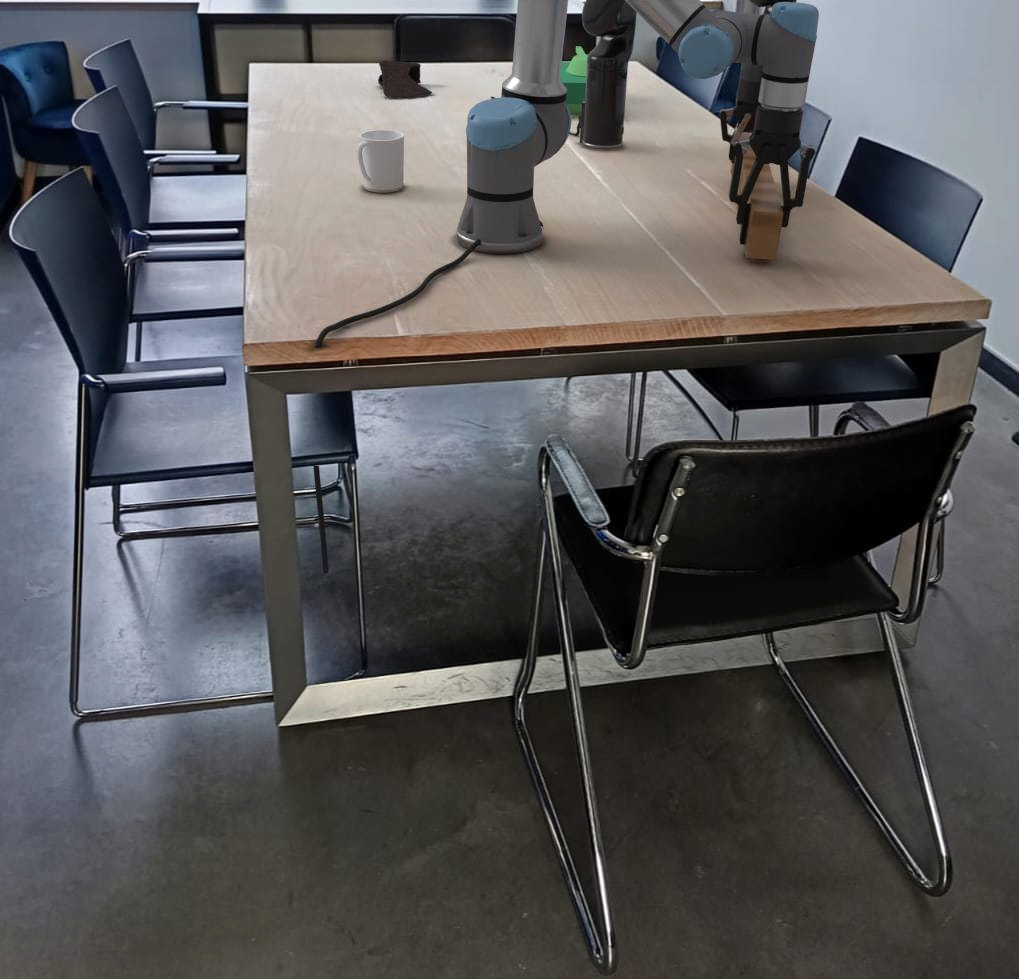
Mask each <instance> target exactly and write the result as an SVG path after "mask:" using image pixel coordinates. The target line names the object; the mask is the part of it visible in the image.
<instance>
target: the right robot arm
mask: <svg viewBox="0 0 1019 979" xmlns="http://www.w3.org/2000/svg"><path fill="white" fill-rule="evenodd" d="M748 1H749V2H750V4H752V5H753V6H755V7H757V8H764V10H763V11H762V14H761V15H767V14H768V15H770V12H771V11H772V7H773V5H774V4H776V3H779V2H798V1H797V0H748ZM637 14H638V13H637V12H636V11H635V10H634V9H633V8H632V7H631V6H630V5H629V4H628V3H627V2H626V1H625V0H585V2H584V5H583V7H582V12H581V21H582V26H583V28H584V30H585V31H586V33H587V34H589V35H591V36H593V37H600V38H599V41H598V43H597V45H596V46H595V47H594V48H593V49H592V50H591V51H590V52H588V54H587V55H588V57H587V73H586V92H585V100H583V101H582V107H581V115H578V123H577V125H576V132H575V133H574V132H570V133H569V135H571V136H574V137H577V136H579V144H582V146H583V147H585V148H588V149H592V150H598V151H599V150H600V151H610V150H611V151H612V150H618V149H620V148H622V147H623V144H624V140H623V139H624V138H623V137H624V134H625V114H626V113H625V112H626V102H627V101H626V99H627V85H628V72H629V61H630V59H631V57H632V55H633V51H634V45H635V44H634V43H635V36H636V28H637V27H636V26H637V16H638V15H637ZM762 72H763V65H753V64H744V63H741V65H740V71H739V80H738V86H737V87H738V88H737V94H736V102H735V104H734V106H733V107H732V108H727V109H725V108H721V109H720V110H719V119H720V131H721V138H722V141H723V142H727V143H729V147H728V148H729V149H728V154H727V156H728V159H729V161H730V164H732V163H734V160H735V150H734V145H733V143H734V142H735V141H736V140H738V139H739V137H740V136H741V134H742V133H743V132H745V131H749V130H752V131H753V130H754V125H755V118H756V111H757V107H758V106H759V105H760V103H759V101H758V99H759V92H760V86H761V80H762ZM494 98H496V97H495V96H493V95H492V96H491V97H490V100H492V99H494ZM732 116H734V118H735V119H736V122H737V124H736V126H735V127H734V130H733V132H732V134H729V132H728V131H729V129H728V128H729V127H728V122H729V121H730V120H731V117H732Z"/></svg>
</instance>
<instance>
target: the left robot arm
mask: <svg viewBox="0 0 1019 979" xmlns="http://www.w3.org/2000/svg"><path fill="white" fill-rule="evenodd" d="M625 1H626V2H627V3H628V4H629V5H630V6H631V7H632V8H633V9H634V10H635V11H636V12H637V14H638V15H639V16H640V18H642V19H643V20H644V21H645V22H646V23H647V24H648V25H649V26H650V27H651V28H652V29H653V30H654V31H655V32H656V33H657V34H658V35H659V36H660V37H661V38H662V40H664V41H665V42H666V43H667V44H668V45H669V46H670V47H671V48H672V49H673V50H674V51H675V52H676V53H677V54H678V60H679V64H680V66H681V68H682V69H683V71H684V72H685V73H686V74H687V75H688V76H690V77H691V78H694V79H697V80H706V79H711V78H714V77H716V76H719V75H721V74H722V73H724V72H725V71H726V70H727V69H728V68H729V67H730V66H732V65H733V64H735V63H736V64H742V63H744V64H753V65H763V72H762V80H761V86H760V92H759V99H758V101H759V103H760V105H759V106H758V107H757V111H756V118H755V125H754V130H753V129H752V132H751V133H752V135H751V136H750V138H749V139H748V140H744V141H738V140H736V141H735V142H734V143H733V145H734V150H735V160H734V166H733V172H732V174H731V179H730V185H729V192H728V198H729V199H728V200H729V202H730V203H734V204H736V205H737V204H738V209H736V210H737V211H736V218H735V221H736V225H740V224H742V226H740V233H739V239H738V240H739V245H741V246H744V245H745V239H746V232H747V226H748V219H749V213H750V205H749V203H747V202H748V200H749V197H750V195H751V193H752V190H753V188H754V186H755V183H756V181H757V179H758V176H759V174H760V172H761V170H762V168H763V166H764V164H769V165H771V164H772V165H776V166H779V173H780V182H781V192H782V203H783V205H781V207H782V210H783V219H782V225H781V228H785V229H786V228H788V226H789V223H790V217H791V212H792V210H793V209H795V208H801V207H803V206H804V201H805V196H806V190H807V189H806V188H807V183H808V176H809V169H810V164H811V162H812V160H813V159H814V156H815V154H816V150H815V148H814V146H813V145H811V144H809V145H807V144H805V143H803V142H802V140H801V137H800V134H801V128H802V121H803V116H804V110H803V109H802V108H803V107H804V106H805V105H806V99H807V92H808V87H809V80H810V76H811V70H812V63H813V59H814V54H815V48H816V43H817V38H818V34H817V33H818V25H819V18H820V12H819V10H818V7H816V6H815V5H813V4H810V3H806V2H798V1H796V2H779V3H776V4H774V5H773V7H772V11H771V12H770V15H768V14H767V15H762V14H757V13H748V12H747V13H746V12H739V11H738V12H737V11H730V10H724V9H722V8H721V9H719V8H718V9H709V8H708V7H706V5H705V4H704V2H702V1H701V0H625ZM568 7H569V0H517V7H516V20H515V31H514V44H513V54H512V55H513V56H512V65H511V66H512V67H511V74H510V75H509V76H508V77H507V78H506V79H505V80H503V82H502V85H501V96H500V97H495V98H494V99H485V100H482V101H480V102H478V103H476V104H474V105H473V106H472V107H471V108H470V110H469V111H468V114H467V120H466V121H467V122H466V128H465V135H466V192H467V193H466V198H465V202H464V205H463V209H462V211H461V214H460V218H459V220H458V224H457V227H456V241H457V243H458V244H459V245H461V246H462V247H464V248H466V250H465V251H464V252H463V253H462V254H461V255H460V256H459V257H457V258H456V259H455V260H453V261H452V262H449V263H447V264H444V265H442V266H440V267H438V268H437V269H434V270H433V271H432V272H431V273H429V275H427V277H425V278H424V280H423V281H422V282H421V284H420V285H419V286H418V287H417V288H415V289H414V290H413V291H411V292H409V293H408V294H406V295H404V296H403V297H401V298H399V299H397V300H395V301H392V302H390V303H388V304H386V305H383V306H381V307H378V308H376V309H373V310H369V311H365V312H362V313H359V314H355V315H352V316H350V317H346V318H344V319H342V320H339V321H338V322H334V323H333V324H330V325H328V326H325V328H323V329H322V330H321V331H320V332H319V334H318V337H317V338H316V341H315V344H314V349H320V348H321V347H322V345H323V342H324V340H325V339H326V337H327V335H328V334H329V333H332V332H334V331H336V330H339V329H341V328H343V327H346V326H348V325H350V324H353V323H356V322H359V321H362V320H365V319H369V318H373V317H375V316H378V315H381V314H383V313H386V312H388V311H390V310H393V309H395V308H397V307H399V306H402V305H404V304H405V303H407V302H409V301H410V300H412V299H414V298H415V297H417V296H418V295H419V294H421V293H422V292H423V291H424V290H425V289H426V288H427V287H428V285H429V284H430V283H431V281H432V280H433V279H435V277H437V276H439V275H440V274H442V273H444V272H446V271H449V270H450V269H452V268H455V267H457V266H458V265H460V264H461V263H462V262H463V261H464V260H466V259H467V258H468V257H469V256H470V254H472V252H473V251H475V252H479V253H486V254H497V255H499V254H500V255H506V254H507V255H508V254H517V253H524V252H527V251H530V250H533V249H536V248H538V247H539V246H540V245H541V244H542V243H543V229H545V228H544V227H545V226H544V223H543V222H542V220H541V219H540V218H539V214H538V213H539V212H538V210H537V206H536V204H535V199H534V184H535V181H534V180H535V167H537V166H538V165H540V164H542V163H543V162H545V161H547V160H550V159H551V158H552V157H554V156H555V155H556V154H558V152H559V151H560V150H561V149H562V148H563V146H564V145H565V144H566V143H567V141H568V138H569V135H570V134H569V133H571V128H572V118H571V116H572V115H570V112H569V109H568V107H567V106H566V96H567V88H566V87H565V86H564V84H563V83H562V82H561V80H560V73H561V63H562V62H563V55H564V54H563V53H564V44H565V35H566V27H567V26H566V25H567V18H568V17H567V16H568ZM750 146H751V148H752V150H753V152H754V153H755V155H756V158H755V161H754V164H753V167H752V169H751V171H750V174H749V176H748V178H747V181H746V183H745V185H744V188H743V190H742V192H741V195H739V194H738V188H739V182H740V176H741V170H742V164H743V155H744V154H746V153H747V149H748V147H750ZM798 151H799V157H800V163H799V169H798V173H797V174H798V175H797V180H796V188H795V194H794V197H792V194H791V193H792V192H791V183H790V172H789V160H790V159H791V158H792V157H793V156H794V155H795V154H796V153H797V152H798ZM781 232H782V230H781V231H780V234H781ZM780 238H781V236H780V237H779V240H780ZM779 244H780V242H779V243H778V246H779ZM312 467H313V468H312V470H313V478H314V489H315V490H314V491H315V500H316V508H317V518H318V528H319V537H320V538H319V539H320V549H321V561H322V562H321V563H322V573H323V574H328V573H329V559H328V557H329V556H328V546H327V533H326V532H327V531H326V523H325V522H326V521H325V512H324V503H323V493H322V482H321V470H320V465H315V464H313V466H312Z"/></svg>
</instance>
